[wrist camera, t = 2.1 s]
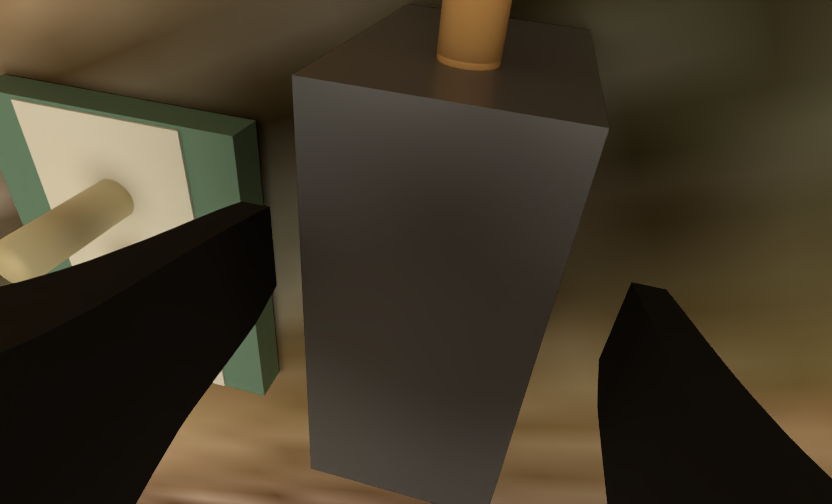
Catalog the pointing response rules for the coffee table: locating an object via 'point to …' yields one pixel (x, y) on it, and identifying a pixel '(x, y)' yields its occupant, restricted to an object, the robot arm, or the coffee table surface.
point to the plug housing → (437, 235)
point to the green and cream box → (122, 186)
